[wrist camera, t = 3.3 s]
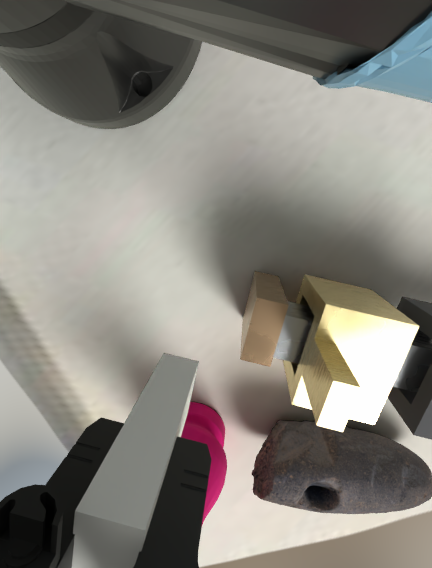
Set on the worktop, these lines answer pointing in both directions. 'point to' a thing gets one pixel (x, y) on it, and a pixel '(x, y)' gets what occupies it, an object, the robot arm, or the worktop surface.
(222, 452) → the pepper mill
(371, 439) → the perforated stone tool
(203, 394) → the worktop surface
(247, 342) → the bar clamp
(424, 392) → the ring
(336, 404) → the sleeve
